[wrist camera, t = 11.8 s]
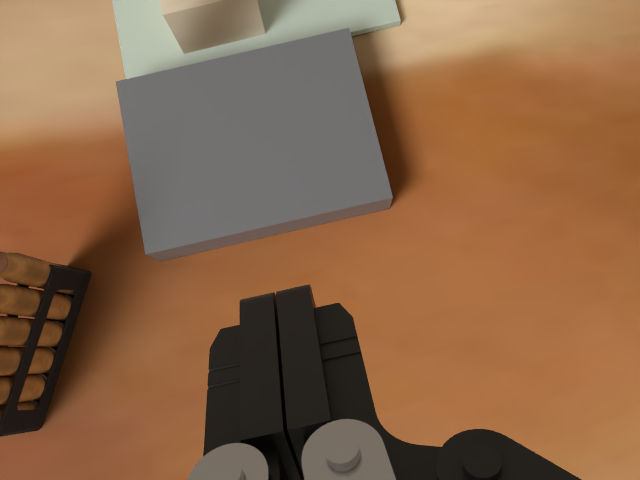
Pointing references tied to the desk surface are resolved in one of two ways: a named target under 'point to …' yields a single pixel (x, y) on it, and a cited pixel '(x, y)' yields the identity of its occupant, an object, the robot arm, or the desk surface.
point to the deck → (252, 145)
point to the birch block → (211, 22)
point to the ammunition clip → (34, 335)
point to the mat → (280, 26)
